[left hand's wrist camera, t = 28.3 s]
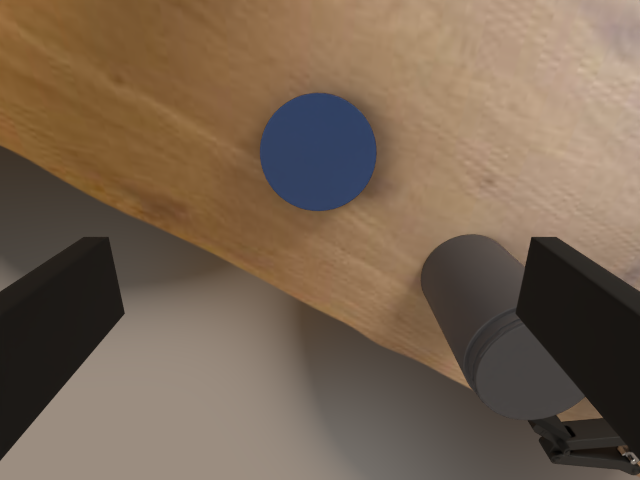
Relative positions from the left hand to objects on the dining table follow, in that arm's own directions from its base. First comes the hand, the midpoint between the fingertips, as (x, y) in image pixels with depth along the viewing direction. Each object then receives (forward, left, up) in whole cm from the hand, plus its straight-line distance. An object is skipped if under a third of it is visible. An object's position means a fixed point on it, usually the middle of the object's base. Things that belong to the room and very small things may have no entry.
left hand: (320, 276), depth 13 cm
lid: (0, 0, -24) cm, 24 cm away
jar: (+20, 0, -25) cm, 32 cm away
